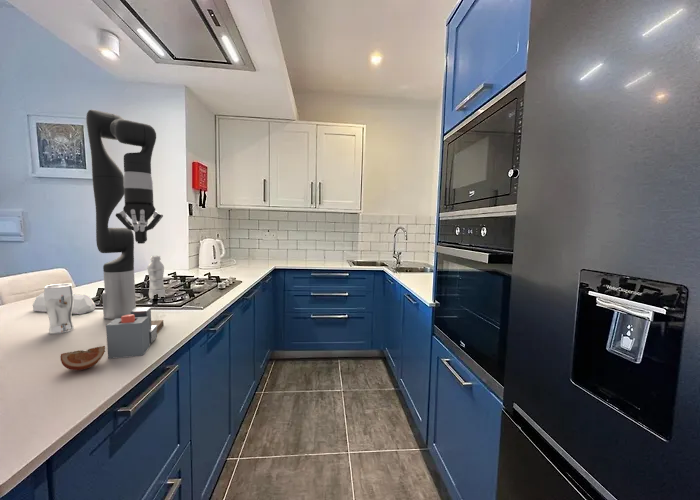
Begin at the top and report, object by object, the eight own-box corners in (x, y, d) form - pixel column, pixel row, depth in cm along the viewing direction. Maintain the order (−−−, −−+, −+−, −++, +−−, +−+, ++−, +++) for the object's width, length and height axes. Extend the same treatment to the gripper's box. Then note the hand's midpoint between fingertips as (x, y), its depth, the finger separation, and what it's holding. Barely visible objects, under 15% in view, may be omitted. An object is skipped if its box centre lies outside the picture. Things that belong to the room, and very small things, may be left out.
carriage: (126, 345, 90) (124, 313, 89) (133, 338, 96) (131, 307, 95) (151, 343, 92) (150, 311, 91) (157, 336, 98) (156, 306, 97)
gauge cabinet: (107, 358, 83) (106, 325, 82) (117, 349, 89) (115, 318, 88) (142, 355, 85) (141, 322, 85) (149, 346, 91) (148, 316, 90)
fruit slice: (105, 359, 83) (104, 341, 82) (107, 368, 78) (106, 349, 77) (61, 369, 77) (60, 349, 77) (61, 379, 72) (59, 358, 72)
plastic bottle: (158, 301, 140) (156, 257, 139) (145, 300, 142) (143, 256, 140) (169, 298, 147) (167, 255, 145) (156, 297, 148) (154, 255, 146)
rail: (130, 347, 90) (129, 341, 90) (150, 326, 108) (150, 320, 108) (146, 346, 91) (145, 339, 91) (163, 325, 109) (163, 319, 109)
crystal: (103, 299, 128) (53, 296, 132) (88, 294, 122) (36, 291, 125) (96, 317, 125) (45, 314, 129) (80, 313, 119) (26, 310, 122)
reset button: (120, 343, 85) (119, 317, 84) (124, 339, 88) (123, 314, 87) (133, 342, 86) (132, 317, 85) (137, 338, 89) (136, 313, 88)
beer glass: (80, 328, 105) (77, 284, 103) (55, 335, 98) (52, 288, 97) (67, 326, 107) (64, 282, 106) (41, 333, 101) (37, 286, 99)
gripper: (165, 190, 104) (167, 242, 106) (118, 188, 100) (121, 242, 102) (159, 187, 97) (161, 244, 99) (108, 185, 93) (111, 244, 95)
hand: (141, 243), depth 100 cm, fingers closed
